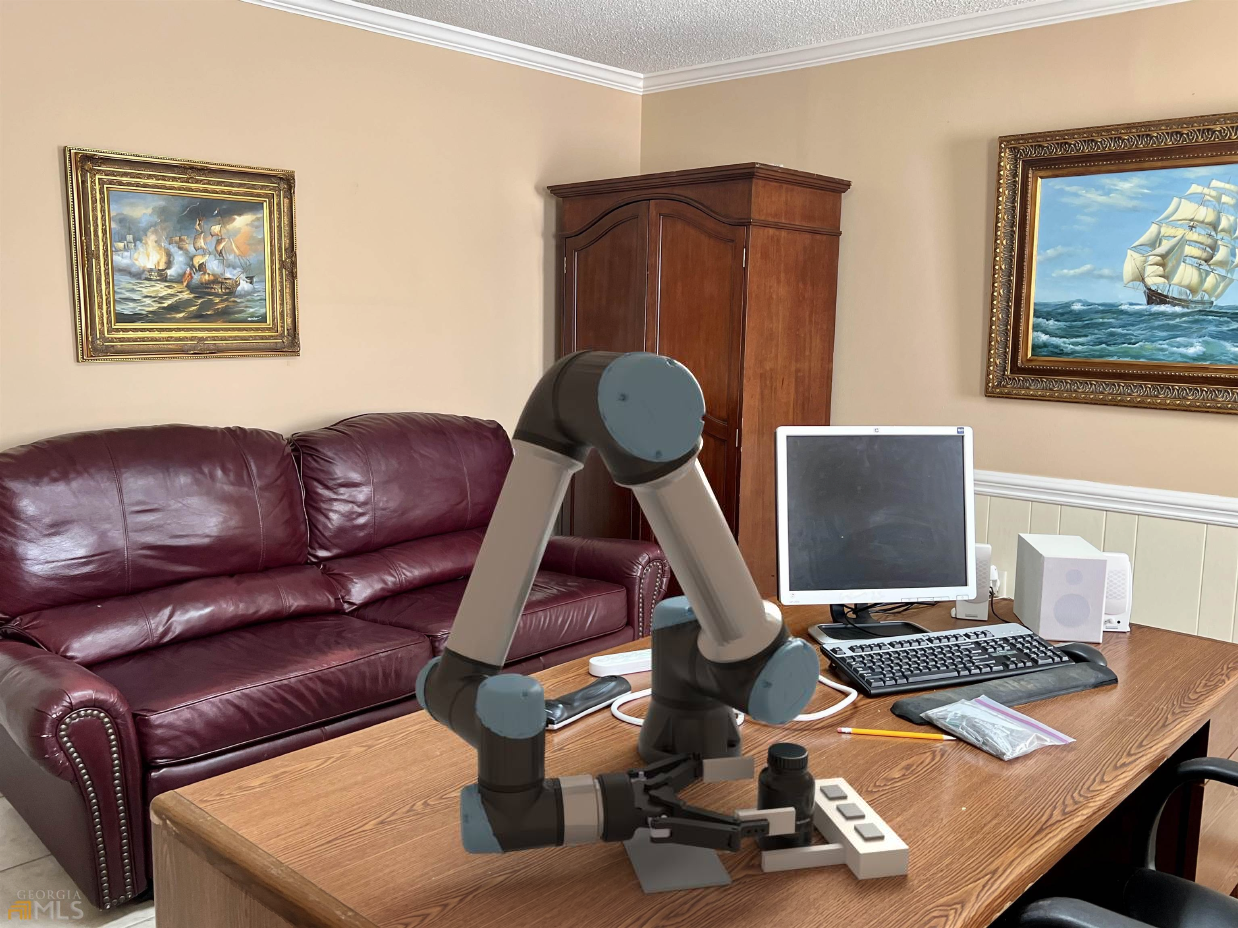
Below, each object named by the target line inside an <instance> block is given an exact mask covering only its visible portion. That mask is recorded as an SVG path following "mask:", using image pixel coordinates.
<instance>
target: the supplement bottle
mask: <svg viewBox="0 0 1238 928" xmlns="http://www.w3.org/2000/svg"><path fill="white" fill-rule="evenodd" d="M767 749H768V750H767V757H766V766H764V767H763V768H761V770H760V772H759V773H758V778H757V791H756V792H757V793H756V795H757V796H756V808H757V811H758V810H769V809H779V808H789V807H793V808H794V809H795V833H789V834H780V835H770V836H760V837H755V841H756V843H757V845H758V847H759V848H760V849H761V850H762V851H763V852H764V851H773V850H783V849H792V848H801V847H811V846H813V835H814V823H813V822H814V804H815V780H816V779H815V777H814V775H813V774H812V772H811V771H810V770H809V751H808V749H807V748H806V747H805V746H803V745H801V744H797V743H793V742H775V743H772V744H771V745H769V747H768V748H767Z"/></svg>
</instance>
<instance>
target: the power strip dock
mask: <svg viewBox="0 0 1238 928" xmlns="http://www.w3.org/2000/svg"><path fill="white" fill-rule="evenodd" d="M748 811H757V807H754V808H745V809H744V808H742V809H734V810H733V817H737V818H738V812H748ZM813 826H815V827H816V828H817V829H818V831H819V832H820V833H821V834H822V836H823V837H824V838H825V840H826V841H827V842H828V843H829V844H821V845H812V846H811V847H801V848H792V849H783V850H773V851H764V850H763V851H761V869H762V870H763V872H764V873H772V872H782V871H789V870H791V871H792V870H798V869H799V870H800V869H807V868H816V867H824V866H825V867H827V866H835V865H844V864H845V865H847V867H848V868H849V869H850V870H851V872H852V873H853V874H854V876H855V877H857V879H858V880H860V881H861V880H868V879H877V878H885V877H886V878H887V877H895V876H902V875H903V876H905V875H908V874H909V860H910V847H909V846H908V845H907V844H906V843H905V842H904V841H903V840H902V839H901V838H900V836H898V834H897V833H896V832H895V831H894V830H893V829H892V828H891V827H890V826H889V825H888V824H887V823H886V822H885V820H884V819H882V818H881V816H880V815H879V814H878V813H876V812H875V811H874V809H873V808H872V807H871V806H870V805H869V804H868V803H867V802H866V801H865V800H864V799H863V798H862V797H861V796H860V795H859V793H857V791H856V790H855V789H854V788H853V787H851V785H850V784H849V783H848V782H847V781H846V780H845V779H844V778H843V777H834V778H822V779H815V804H814V822H813Z"/></svg>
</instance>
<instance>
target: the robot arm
mask: <svg viewBox="0 0 1238 928" xmlns="http://www.w3.org/2000/svg"><path fill="white" fill-rule="evenodd" d="M705 414H706V404H705V398H704V393H703V391H702V389H701V386H700V384H699V382H698V380H697V379H696V377H695V376H694V375H693V373H691V371H690V370H689V369H688V368H687V367H685V365H683V364H682V363H681V362H679V361H677V360H676V359H673V358H670V357H668V356H664V355H659V354H656V353H653V352H649V351H632V352H631V351H630V352H614V351H603V350H596V349H585V350H584V349H583V350H578V351H574V352H571V353H569V354H566V355H565V356H563V357H561V358H560V359H558V360H557V361H556V362H555V363H554V364H552V365H551V366H550V367H549V368H548V369H547V370H546V371H545V373H543V375H542V376H541V377H540V379H539V381H538V382H537V383H536V385H535V387H534V388H533V389H532V392H531V393H530V395H529V397H528V399H527V401H526V402H525V405H524V407H523V409H522V411H521V414H520V416H519V418H518V421H517V423H516V426H515V429H514V431H513V434H512V437H511V439H510V444H511V446H512V449H513V452H514V456H513V457H512V458H513V459H512V460H511V464H510V467H509V470H508V472H507V474H506V478H505V480H504V484H503V486H502V489H501V491H500V494H499V496H498V499H497V503H496V505H495V508H494V510H493V514H492V517H491V519H490V522H489V524H488V527H487V530H486V533H485V536H484V538H483V541H482V544H481V547H480V549H479V552H478V553H477V557H476V560H475V563H474V566H473V569H472V571H471V574H470V577H469V580H468V583H467V586H466V588H465V591H464V592H463V593H464V594H463V597H462V598H461V602H460V604H459V607H458V610H457V612H456V615H455V618H454V621H453V624H452V626H451V630H450V632H449V634H448V637H447V640H446V642H445V646H444V648H443V651H442V653H441V655H438V656H436V657H433V658H432V659H430V660H429V661H428V662H427V663H426V664H425V665H424V666H423V668H422V669H420V671H419V673H418V675H417V678H416V680H415V686H414V688H415V696H416V699H417V701H418V704H420V706H421V707H422V709H423V710H425V712H426V713H428V715H429V716H430V717H431V718H432V719H433V720H434V721H436V722H437V723H439V724H441V725H443V726H445V727H446V729H447V728H448V730H450V731H452V732H453V733H454V734H455V735H456V736H458V737H459V738H461V739H462V740H463V741H464V742H466V743H467V744H468V745H469V746H471V747H472V748H473V749H475V750H476V751H477V781H476V782H473V783H471V784H467V785H464V786H463V787H462V788H461V789H460V794H459V799H460V801H459V807H460V808H459V811H460V812H459V814H460V816H459V818H460V834H461V835H460V836H461V845H462V847H463V849H464V850H465V851H466V853H468V854H472V855H486V854H500V855H506V853H512V852H522V851H530V850H537V849H539V850H540V849H545V848H546V849H547V848H558V847H559V848H560V847H567V846H568V847H570V848H575V847H576V846H577V845H588V844H595V843H596V842H597V841H598V839H600V841H602V842H603V843H604V844H605V843H614V842H623V841H626V840H630V839H632V838H633V836H634V834H635V831H636V830H637V829H638V828H649V829H650V842H651V843H654V844H663V843H674V844H681V845H688V846H695V847H702V848H709V849H714V850H717V851H723V852H729V853H738V852H740V851H741V842H742V840H743V839H748V838H756V837H760V836H770V835H780V834H789V833H795V809H794V808H793V807H789V808H779V809H769V810H758V811H748V812H738V818H737V817H734V815H730V814H729V815H728V814H726V813H721V812H718V811H713V810H710V809H706V808H703V807H698V806H694V805H691V804H688V803H687V802H686V800H684V799H683V798H680V797H678V794H679V793H681V792H682V791H683V790H686V789H687V788H689V787H690V786H691V785H693V784H694V783H696V782H698V781H699V780H702V782H703V784H708V783H719V782H730V781H733V782H734V781H740V780H741V781H742V780H752V779H755V759H756V758H755V757H754V756H753V755H746V756H745V755H744V756H743V738H742V734H741V731H740V728H739V724H738V721H737V718H736V714H735V711H738V712H740V713H742V714H744V715H746V716H748V717H750V718H751V719H752V720H754V721H755V722H762V723H765V724H768V725H770V726H782V725H786V724H788V723H790V722H792V721H794V720H795V719H796V718H797V717H798V716H800V715H801V714H802V713H803V712H804V710H805V709H807V707H808V705H809V704H810V702H811V700H812V698H813V697H814V695H815V692H816V688H817V685H818V683H819V679H820V674H821V673H820V672H821V663H820V657H819V654H818V652H817V649H816V648H815V647H814V646H813V645H812V644H811V643H809V642H807V641H806V640H805V639H803V638H801V637H797V638H796V637H795V636H793V635H792V633H791V631H790V630H789V628H788V626H787V623H786V621H785V619H784V617H783V614H782V612H781V610H780V609H779V607H778V606H777V605H776V604H775V603H773V602H771V601H769V600H765V599H762V596H761V594H760V593H759V591H758V588H757V585H756V584H755V582H754V580H753V577H752V575H751V572H750V570H749V568H748V566H747V564H746V562H745V560H744V557H743V555H742V553H741V551H740V549H739V547H738V545H737V542H736V540H735V537H734V536H733V533H732V532H731V529H730V527H729V525H728V522H727V521H726V518H725V516H724V514H723V511H722V510H721V508H720V505H719V503H718V500H717V499H716V496H715V494H714V492H713V490H712V488H711V486H710V483H709V482H708V479H707V477H706V475H705V472H704V471H703V468H702V466H701V464H700V462H699V459H698V455H699V453H700V452H701V450H702V447H703V443H704V441H703V438H702V433H703V430H704V427H705V426H704V425H705V421H703V420H702V419H703V416H704V415H705ZM592 449H596V450H597V451H598V453H599V455H600V457H601V459H602V461H603V463H604V465H605V467H606V469H607V471H608V472H609V475H610V476H611V478H612V480H613V482H614V483H615V484H616V485H618V486H620V487H624V488H628V489H631V490H632V491H633V492H632V493H633V494H634V496H635V498H636V500H637V501H638V504H639V506H640V507H641V509H642V512H643V514H644V515H645V517H646V520H647V521H648V524H649V525H650V528H651V530H652V533H654V536H655V538H656V539H657V542H658V544H659V546H660V548H661V549H662V552H663V553H664V555H665V557H666V559H667V562H668V564H669V565H670V567H671V570H672V571H673V574H674V575H675V578H676V580H677V581H678V583H679V586H680V587H681V589H682V590H681V591H682V592H683V594H684V595H680V596H674V597H670V598H665V599H664V600H661V601H659V602H658V603H657V604H656V605H655V607H654V608H653V611H652V621H651V627H650V631H651V636H650V638H651V639H650V640H651V643H650V645H651V646H650V648H651V649H650V650H651V651H650V652H651V657H650V659H651V661H650V662H651V667H650V668H651V669H650V671H651V672H650V674H651V675H650V679H651V680H650V681H651V682H650V683H651V685H650V686H651V687H650V688H651V689H650V690H651V691H650V702H649V705H648V708H647V710H646V713H645V717H644V719H643V722H642V725H641V728H640V730H639V733H638V737H637V738H638V742H637V743H638V745H637V748H638V749H637V750H638V755H639V757H640V758H641V759H642V760H643V761H644V762H645V763H647V764H646V765H644V766H639V767H633V768H627V769H626V770H625V771H617V772H616V771H615V772H604V773H599V774H598V775H596V776H595V778H594V777H593V776H592V775H591V774H588V773H587V774H579V775H578V774H577V775H567V776H558V777H546V766H545V765H546V736H547V735H546V734H547V733H546V732H547V729H546V727H547V719H548V717H547V715H548V714H547V712H546V709H547V708H546V706H545V705H546V701H545V690H544V687H543V685H542V683H541V681H539V680H538V679H536V678H535V677H532V676H530V675H522V673H521V674H520V673H502V670H503V667H504V664H505V661H506V658H507V656H508V653H509V651H510V648H511V645H512V642H513V639H514V637H515V634H516V631H517V628H518V625H519V622H520V620H521V618H522V614H523V612H524V609H525V605H526V603H527V600H528V598H529V595H530V593H531V589H532V587H533V584H534V582H535V579H536V575H537V572H538V570H539V567H540V564H541V562H542V559H543V556H544V554H545V550H546V548H547V545H548V543H549V540H550V537H551V534H552V531H553V529H554V525H555V523H556V521H557V518H558V517H557V516H558V515H559V512H560V509H561V506H562V503H563V501H564V498H565V495H566V493H567V489H568V487H569V484H570V481H571V479H572V476H573V474H574V473H576V472H578V471H580V470H582V469H583V468H584V466H585V464H586V461H587V458H588V455H589V453H590V451H591V450H592ZM501 673H502V674H501ZM734 710H735V711H734ZM701 778H702V779H701ZM670 830H671V831H670Z"/></svg>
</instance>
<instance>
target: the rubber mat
mask: <svg viewBox="0 0 1238 928" xmlns="http://www.w3.org/2000/svg"><path fill="white" fill-rule="evenodd" d="M670 831H671V830H670ZM622 843H623V845H624V848H625V850H626V853H627V855H628V857H629V860H630V862H631V865H632V867H633V869H634V872H635V875H636V876H637V880H638V881H639V884H640V887H641V888H642V892H643V893H644V895H646V894H655V893H656V894H657V893H663V892H672V891H681V890H691V889H700V888H709V887H717V886H725V885H727V886H728V885H732V879H731V876H730V875H729V873H728V871H727V870H726V868H725V867H724V865H723V863H722V861H721V859H720V858H719V856H718V854H717V852H716V851H715V849H709V848H702V847H695V846H688V845H681V844H674V843H663V844H654V843H651V842H650V829H649V828H638V829H637V830H636V831H635V834H634V836H633V838H632V839H630V840H626V841H622Z"/></svg>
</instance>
